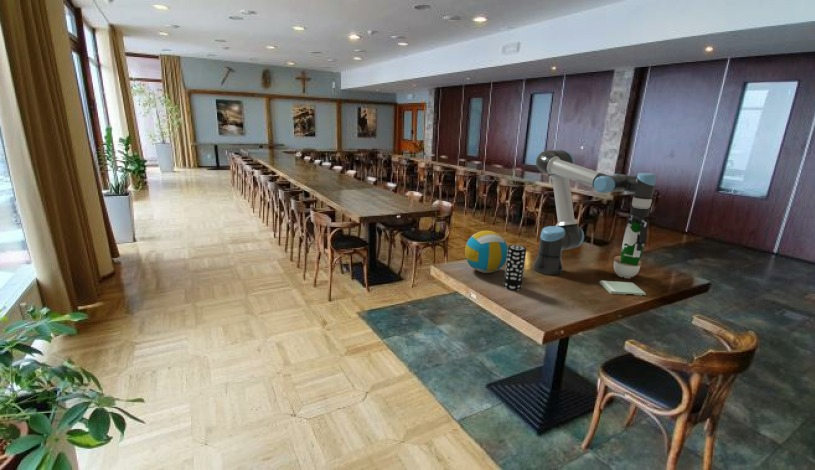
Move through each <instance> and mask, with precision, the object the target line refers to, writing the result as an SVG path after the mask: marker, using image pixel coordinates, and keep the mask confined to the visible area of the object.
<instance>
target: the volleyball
mask: <svg viewBox="0 0 815 470" xmlns="http://www.w3.org/2000/svg"><path fill="white" fill-rule="evenodd" d="M507 251H508V244H507V242H506V241H505V239H504V238H503V237H502V236H501V234H499V233H497V232H495V231H492V230H480V231H478V232H476V233H474V234H472V235H471V236H470V238H468V240H467V242H466V244H465V247H464V255H465V259H466V262H467V263H468V265H469V266H470V267H471V268H472V269H473V270H475V271H478V272H480V273H483V274H489V273H494V272H496V271H498V270H500V269H501V268H502V267H504V265H505V264H506V260H507Z"/></svg>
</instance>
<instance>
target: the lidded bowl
mask: <svg viewBox="0 0 815 470" xmlns="http://www.w3.org/2000/svg"><path fill="white" fill-rule="evenodd" d="M641 265H642V261H641V260H639V263H638V265H637V266H635V265H630V264H625V263H621V255H617V256H614V259H613V270H614V272H615V273H616V275H617V276H618V277H620V278H623V277H624V278H623V279H632V278H634V277H635V276H636V275H637V274H639V271H640V270H641V269H640V268H641ZM631 277H632V278H631Z"/></svg>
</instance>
